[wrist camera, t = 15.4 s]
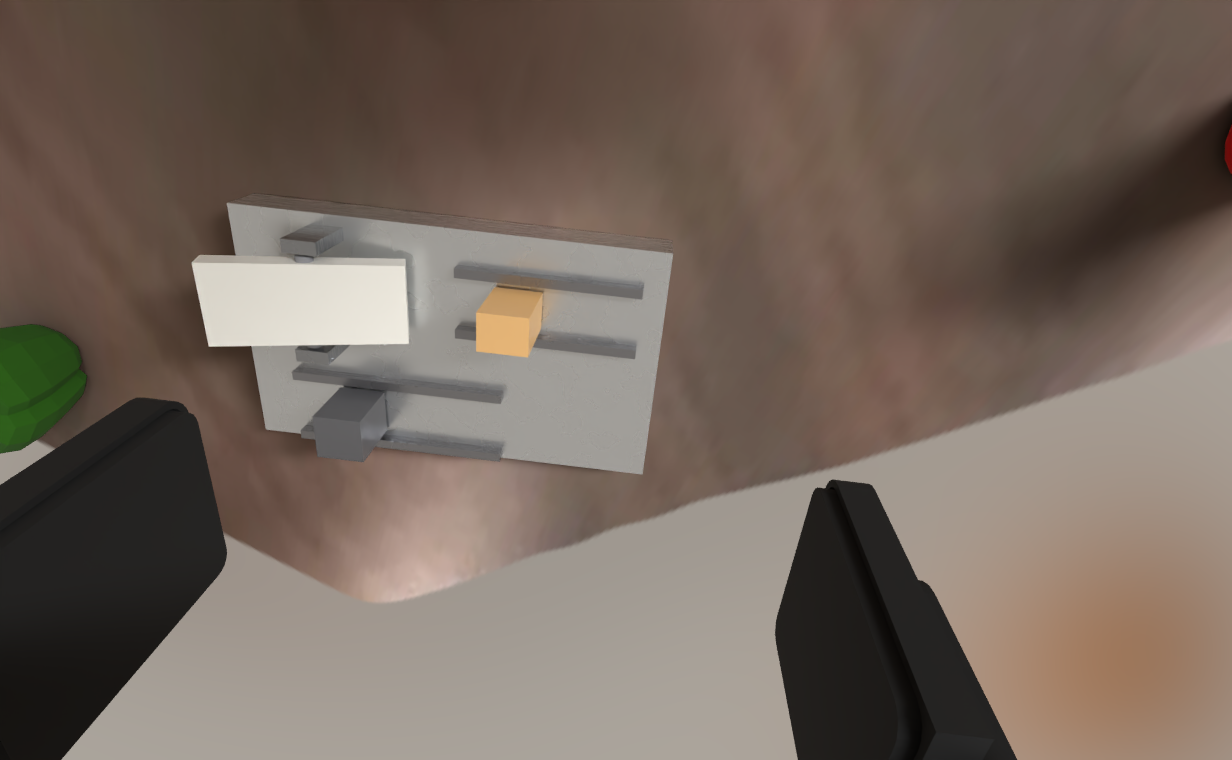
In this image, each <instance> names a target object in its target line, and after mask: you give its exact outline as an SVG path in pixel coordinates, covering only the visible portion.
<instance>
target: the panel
mask: <svg viewBox="0 0 1232 760" xmlns="http://www.w3.org/2000/svg"><path fill="white" fill-rule="evenodd" d="M227 208H228V214H229V219H230V225H231V231H232V237H233V242H234V248H235V254H236V256H283V257H294V255H295V254H298V255H307V256H313V257H335V258H388V259H406V279H407V298H408V317H409V344H365V345H323V346H322V347H319V348H308V347H306V345H289V346H252V352H253V358H254V364H255V369H256V375H257V381H258V387H259V392H260V398H261V404H262V410H263V416H264V421H265V427H266V430H275V431H283V432H291V433H300V434H301V438H306V439H314V440H315V434H314V426H313V419H312V416H313V415H314V414H315V413H316V412H317V411H318V410H319V409H320V408H321V407H322V406H323V405H324V404H325V403H326V402H327V401H328V400H329V399H330V398H331V397H332V396H333V395H334V394H335V393H336V392H337V390H338V389H339V388H340V387H343V388H351V389H360V390H368V391H377V392H384V395H385V408H386V422H387V431H386V432H385V434H384V435H383V436H382V438H381V439H380V440H379V442H378V443H377V444H376V446H375V447H381V448H390V449H398V450H407V451H415V452H423V453H432V454H440V455H448V456H457V457H465V458H473V459H482V460H490V461H499V462H500V459H501V458H509V459H518V460H526V461H535V462H543V463H551V464H560V465H568V466H576V467H585V468H593V469H602V470H610V471H618V472H627V473H635V474H642V473H643V466H644V459H645V452H646V445H647V437H648V430H649V423H650V416H651V409H652V402H653V394H654V387H655V380H656V373H657V366H658V359H659V351H660V344H661V337H662V330H663V323H664V316H665V308H666V301H667V294H668V287H669V280H670V273H671V265H672V258H673V241H672V240H663V239H654V238H646V237H637V236H628V235H619V234H610V233H601V232H593V231H584V230H575V229H566V228H557V227H548V226H540V225H531V224H522V223H513V222H504V221H495V220H487V219H478V218H469V217H460V216H451V215H442V214H434V213H425V212H416V211H407V210H398V209H389V208H381V207H372V206H363V205H354V204H345V203H337V202H328V201H319V200H310V199H301V198H292V197H284V196H275V195H266V194H257V193H254V194H251V195H248V196H245V197H242V198H239V199H236V200H234V201H231V202H228V203H227ZM494 287H498V288H507V289H516V290H524V291H533V292H542V293H543V298H542V319H541V330H540V332H539V334H538V336H537V339H536V341H535V343H534V345H533V348H532V350H531V352H530V354H529V356H528V357H519V356H511V355H502V354H493V353H485V352H476V312H477V311H478V309H479V308H480V306H481V305H482V304H483V302H484V301H485V300H486V298H487V297H488V295H489V294H490V293H491V291H492V290H493V289H494Z"/></svg>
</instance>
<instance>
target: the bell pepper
mask: <svg viewBox="0 0 1232 760" xmlns="http://www.w3.org/2000/svg"><path fill="white" fill-rule="evenodd" d="M81 363H82V360H81V357H80V353H79V350H78V347H77V346H76V345H75V344H74V343H73V342H72V341H70V340H69V339H68V338H67V337H66V336H65V335H63V334H62V333H60V332H57V331H55V330H52V329H50V328H47V327H45V326H41V325H33V324H30V325H21V326H13V327H6V328H0V453H6V452H12V451H18V450H21V449H23V448H25V447H26V446H28V445H29V444H31V443H32V442H34V441H35V440H37V439H38V438H40V437H42V436H43V435H44V434H45V433H46V432H47V431H48V430H49V429H51V428H52V427H53V426H54V425H55V424H56V423H57V422H58V421H59V420H60V419H61V418H62V417H63V416H64V415H65V414H66V413H67V412H68V411H69V410H70V409H71V408H72V406H73V405H74V404H75V403H76V402H77V401H78V400H79V398H80V397H81V396H82V395H83V393H84V389H85V386H86V379H87V375H86V374H84V373H83V372H82V371H81V370H80V369H79V367H80V365H81Z"/></svg>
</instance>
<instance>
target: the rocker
mask: <svg viewBox="0 0 1232 760" xmlns="http://www.w3.org/2000/svg"><path fill="white" fill-rule="evenodd" d="M192 267H193V272H194V277H195V282H196V287H197V291H198V296H199V301H200V306H201V311H202V316H203V321H204V325H205V330H206V335H207V340H208V345H209V347H213V346H289V345H306V347H308V348H319V347H322V346H323V345H365V344H409V317H408V298H407V279H406V259H388V258H335V257H313V256H307V255H298V254H295V255H294V257H283V256H231V255H199V256H198V257H197V258H196V259H195V260H194V261H193V262H192Z"/></svg>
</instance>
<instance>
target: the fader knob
mask: <svg viewBox="0 0 1232 760" xmlns="http://www.w3.org/2000/svg"><path fill="white" fill-rule="evenodd" d="M312 419H313V426H314V434H315V441H316V449H317V456H318V457H324V458H333V459H341V460H349V461H358V462H364V461H365V459H366V458H367V457H368V455H369V454H370V453H371V451H372V450H373V449H374V447H375V446H376V444H377V443H378V442H379V440H380V439H381V438H382V436H383V435H384V434H385V432H386V431H387V422H386V408H385V395H384V392H377V391H368V390H360V389H351V388H343V387H340V388H339V389H338V390H337V392H336V393H335V394H334V395H333V396H332V397H331V398H330V399H329V400H328V401H327V402H326V403H325V404H324V405H323V406H322V407H321V408H320V409H319V410H318V411H317V412H316V413H315V414H314V415H313V416H312Z"/></svg>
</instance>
